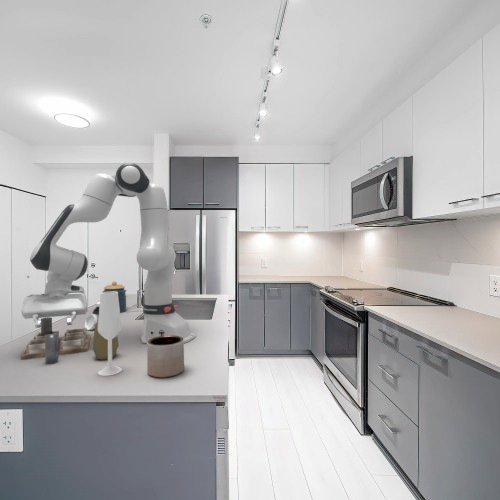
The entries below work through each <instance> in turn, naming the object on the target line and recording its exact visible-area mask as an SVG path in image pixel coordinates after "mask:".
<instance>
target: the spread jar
mask: <svg viewBox="0 0 500 500" xmlns="http://www.w3.org/2000/svg"><path fill="white" fill-rule="evenodd" d="M99 307H100V301H99V302H96V307H95V308H94V309H93V311H92V314H89V315H88V316H87V317H86V318H85V321H84V328H87V331H92V330H94V329H95V324H96V323H97V322H98V316H99Z"/></svg>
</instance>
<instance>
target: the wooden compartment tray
mask: <svg viewBox="0 0 500 500" xmlns="http://www.w3.org/2000/svg"><path fill="white" fill-rule="evenodd" d="M40 321H41V327H40V332H39V331H38V332H37V333H36V334H35V335H34V336H33V339H31V340H30V341H29V342H28V343H27V345H26V347H25V351H23V353H21V355H20V360H29V359H37V358H45V335H48V334H54V333H56V334H58V356H61V355H70V354H77V353H78V354H79V353H87V352H89V351H88V350H89V346H90V343H91V342H90V341H91V337H92V335H91V333H89V334H88V332H87V331H88V330H87V328H85V327H84V328H83V327H82V328H72V329H66V331H65V332H64V336H61V337H60V331H59V330H53V317H42V318H40Z"/></svg>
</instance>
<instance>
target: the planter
mask: <svg viewBox="0 0 500 500" xmlns="http://www.w3.org/2000/svg"><path fill="white" fill-rule="evenodd" d="M146 347H147V349H146V351H147V353H146V355H147V356H146V359H147V363H146V364H147V365H146V370H147V374H148V375H149V376H151V377H153V378H159V379H166V378H172V377H175V376H178V375H180V374H181V373H182V372H184V369H185V348H184V347H185V343H184V339H183V338H182V337H180V336H175V335H166V336H158V337H154V338H152V339H150V340H148V341H147V343H146Z"/></svg>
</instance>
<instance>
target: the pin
mask: <svg viewBox="0 0 500 500" xmlns="http://www.w3.org/2000/svg"><path fill="white" fill-rule="evenodd" d="M44 362H45V364H46V365H54V364H57V363H58V362H59V355H58V334H56V333H54V334H48V335H45V357H44Z"/></svg>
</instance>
